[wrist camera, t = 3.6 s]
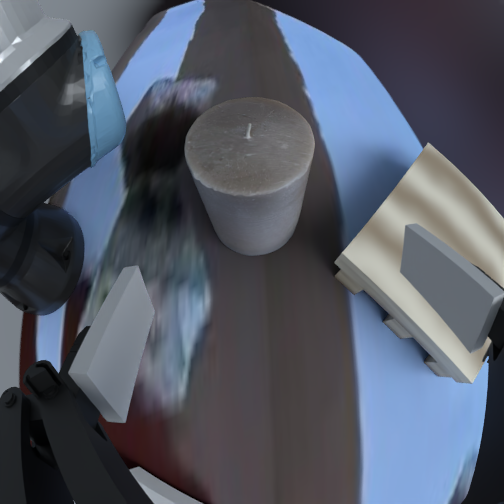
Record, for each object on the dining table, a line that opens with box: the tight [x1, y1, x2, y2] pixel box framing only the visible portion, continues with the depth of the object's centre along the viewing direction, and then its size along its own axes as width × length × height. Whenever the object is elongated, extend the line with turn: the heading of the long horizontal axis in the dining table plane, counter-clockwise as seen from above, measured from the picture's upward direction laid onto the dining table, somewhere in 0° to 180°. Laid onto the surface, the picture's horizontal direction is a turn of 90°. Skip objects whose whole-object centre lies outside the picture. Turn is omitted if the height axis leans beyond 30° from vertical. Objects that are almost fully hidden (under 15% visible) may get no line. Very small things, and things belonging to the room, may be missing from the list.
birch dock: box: [334, 143, 504, 384], centre depth 27 cm, size 20×20×6 cm
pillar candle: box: [184, 97, 315, 256], centre depth 25 cm, size 10×10×15 cm
